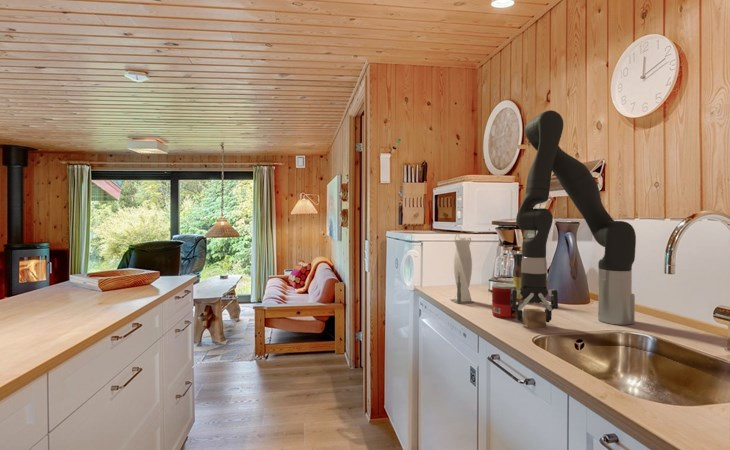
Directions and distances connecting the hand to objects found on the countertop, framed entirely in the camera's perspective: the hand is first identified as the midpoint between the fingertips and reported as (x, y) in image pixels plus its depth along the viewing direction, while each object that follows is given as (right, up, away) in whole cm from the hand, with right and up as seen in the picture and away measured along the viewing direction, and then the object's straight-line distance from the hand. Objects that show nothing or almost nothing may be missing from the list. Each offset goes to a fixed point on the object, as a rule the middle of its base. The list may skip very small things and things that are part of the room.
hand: (533, 321), depth 123 cm
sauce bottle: (+10, -1, +35) cm, 37 cm away
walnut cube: (0, -1, 0) cm, 2 cm away
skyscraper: (-14, -1, +37) cm, 39 cm away
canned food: (-5, -1, +12) cm, 13 cm away
